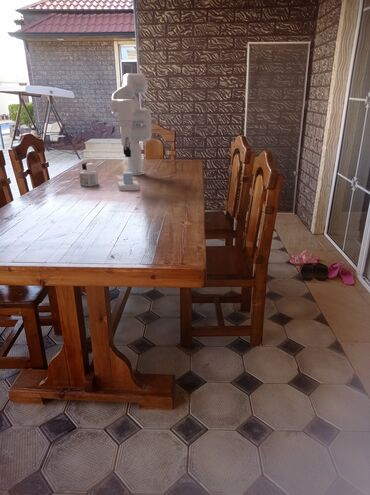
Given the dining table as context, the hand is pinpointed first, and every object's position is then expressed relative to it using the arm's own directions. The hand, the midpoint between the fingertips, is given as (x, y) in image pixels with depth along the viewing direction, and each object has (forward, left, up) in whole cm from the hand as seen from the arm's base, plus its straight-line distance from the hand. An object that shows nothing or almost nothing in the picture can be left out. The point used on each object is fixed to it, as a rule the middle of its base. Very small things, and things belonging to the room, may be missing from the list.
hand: (127, 155), depth 210 cm
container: (-14, -23, -19) cm, 32 cm away
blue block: (+1, -1, -15) cm, 15 cm away
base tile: (+1, -1, -18) cm, 18 cm away
